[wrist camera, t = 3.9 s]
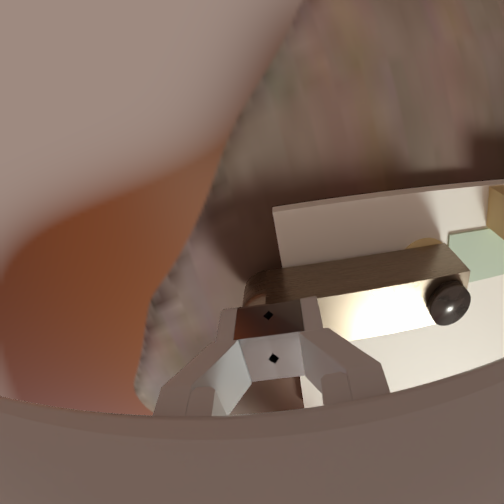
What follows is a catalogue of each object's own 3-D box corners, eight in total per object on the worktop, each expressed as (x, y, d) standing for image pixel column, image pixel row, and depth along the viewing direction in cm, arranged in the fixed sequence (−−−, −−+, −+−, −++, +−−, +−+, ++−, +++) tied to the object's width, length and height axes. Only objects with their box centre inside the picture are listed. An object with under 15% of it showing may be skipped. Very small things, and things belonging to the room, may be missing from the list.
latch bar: (444, 242, 19) (476, 277, 15) (440, 286, 21) (466, 324, 17) (239, 274, 21) (231, 318, 17) (250, 316, 23) (245, 363, 19)
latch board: (550, 175, 17) (576, 189, 14) (508, 352, 26) (521, 373, 23) (272, 207, 21) (272, 228, 18) (303, 401, 29) (305, 430, 26)
